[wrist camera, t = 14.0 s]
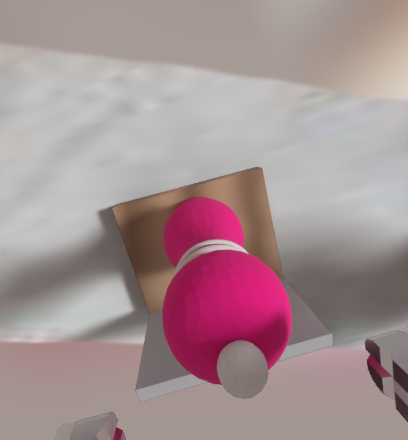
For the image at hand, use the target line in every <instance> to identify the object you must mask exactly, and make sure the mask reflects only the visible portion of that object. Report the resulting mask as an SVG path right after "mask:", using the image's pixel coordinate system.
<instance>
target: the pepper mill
mask: <svg viewBox="0 0 408 440" xmlns="http://www.w3.org/2000/svg"><path fill="white" fill-rule="evenodd" d="M163 238H164V247H165V251H166V254H167V257H168V258H169V260H170V262H171V263H172V264H173V266H174V267H175V268H176V270H175V274H174V277H173V279H172V280H171V282H170V284H169V286H168V288H167V291H166V295H165V298H164V302H163V308H162V318H163V329H164V334H165V338H166V341H167V343H168V345H169V348H170V350H171V352H172V353H173V355H174V357H175V358H176V360H177V361H178V362H179V363H180V364H181V365H182V366H183V367H184V368H185V369H186V370H187V371H188V372H189V373H191V374H192V375H194V376H195V377H197V378H199V379H202V380H204V381H207V382H210V383H213V384H220V385H223V387H224V388H225V389H226V390H227V392H229V393H230V394H232V395H233V396H235V397H239V398H251V397H253V396H255V395H257V394H258V393H259V392H261V390H262V389H263V388H264V385H265V384H266V382H267V377H268V370H269V369H270V368H271V367H272V366H273V365H274V364H275V363H276V362H277V361H278V360H279V359H280V357H281V355H282V354H283V352H284V350H285V349H286V346H287V343H288V340H289V337H290V333H291V329H292V311H291V307H290V302H289V298H288V295H287V293H286V290H285V288H284V286H283V284H282V283H281V281H280V280H279V278H278V277H277V275H276V274H275V273H274V272H273V271H272V270H271V269H270V268H269V267H268V266H267V265H266V264H265V263H264V262H263V261H261V260H260V259H258V258H257V257H255V256H253V255H250V254H248V252H247V251H246V250H245V249H243V247H244V233H243V229H242V225H241V223H240V221H239V219H238V217H237V216H236V214H235V213H234V212H233V210H232V209H231V208H229V207H228V206H227V205H225V204H224V203H222V202H220V201H217V200H214V199H210V198H207V197H194V198H191V199H188V200H186V201H184V202H183V203H181V204H180V205H179V206H178V207H177V208H176V210H175V211H174V212H173V213H172V214H171V215H170V217H169V219H168V220H167V223H166V225H165V229H164V236H163Z"/></svg>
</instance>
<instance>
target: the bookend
mask: <svg viewBox="0 0 408 440" xmlns="http://www.w3.org/2000/svg"><path fill="white" fill-rule="evenodd" d="M194 197H207V198H210V199H214V200H217V201H220V202H222V203H224V204H225V205H227V206H228V207H229V208H231V209H232V210H233V212H234V213H235V214H236V216H237V217H238V219H239V221H240V223H241V225H242V229H243V233H244V247H243V249H245V250H246V251H247V252H248V254H250V255H253V256H255V257H257V258H258V259H260V260H261V261H263V262H264V263H265V264H266V265H267V266H268V267H269V268H270V269H271V270H272V271H273V272H274V273H275V274H276V275H277V277H278V278H279V280H280V281H281V283H282V284H283V286H284V288H285V290H286V293H287V295H288V298H289V302H290V307H291V311H292V329H291V333H290V337H289V340H288V343H287V346H286V349H285V350H284V352H283V354H282V355H281V357H280V359H279V360H278V361H277V362H279V361H282V360H286V359H289V358H293V357H296V356H300V355H303V354H306V353H310V352H313V351H317V350H320V349H324V348H327V347H331V346H334V344H333V337H332V333H331V332H330V331H329V329H328V328H327V327H326V326H325V325H324V324H323V322H322V321H321V320H320V319H319V318H318V317H317V315H316V314H315V313H314V312H313V311H312V310H311V308H310V307H309V306H308V305H307V304H306V303H305V301H304V300H303V299H302V298H301V297H300V296H299V294H298V293H297V292H296V291H295V290H294V289H293V288H292V286H291V285H290V284H289V283H288V282H287V281H286V279H285V278H284V277H283V275H282V270H281V265H280V260H279V254H278V249H277V244H276V239H275V233H274V228H273V223H272V218H271V212H270V207H269V202H268V197H267V192H266V186H265V181H264V176H263V171H262V168H259V167H255V168H251V169H247V170H244V171H240V172H236V173H232V174H229V175H225V176H221V177H218V178H214V179H210V180H206V181H203V182H199V183H195V184H191V185H188V186H184V187H180V188H176V189H173V190H169V191H165V192H161V193H158V194H154V195H150V196H147V197H143V198H139V199H135V200H132V201H128V202H124V203H120V204H117V205H115V206H114V207H113V208H112V210H113V213H114V215H115V218H116V221H117V224H118V227H119V229H120V232H121V235H122V238H123V240H124V243H125V246H126V249H127V252H128V254H129V257H130V260H131V263H132V265H133V268H134V271H135V274H136V277H137V279H138V282H139V285H140V288H141V291H142V293H143V296H144V299H145V302H146V304H147V307H148V310H149V313H150V314H149V320H148V325H147V331H146V336H145V341H144V347H143V352H142V357H141V363H140V368H139V374H138V380H137V385H136V393H137V395H138V397H139V400H140V402H141V401H145V400H148V399H152V398H155V397H159V396H162V395H165V394H169V393H172V392H176V391H179V390H183V389H186V388H190V387H193V386H196V385H200V384H203V383H207V381H204V380H202V379H199V378H197V377H195V376H194V375H192V374H191V373H189V372H188V371H187V370H186V369H185V368H184V367H183V366H182V365H181V364H180V363H179V362H178V361H177V360H176V358H175V357H174V355H173V353H172V352H171V350H170V348H169V345H168V343H167V341H166V338H165V334H164V329H163V318H162V308H163V302H164V298H165V295H166V291H167V288H168V286H169V284H170V282H171V280H172V279H173V277H174V274H175V270H176V268H175V267H174V266H173V264H172V263H171V262H170V260H169V258H168V257H167V254H166V251H165V247H164V238H163V236H164V229H165V225H166V223H167V220H168V219H169V217H170V215H171V214H172V213H173V212H174V211H175V210H176V208H177V207H178V206H179V205H180V204H181V203H183V202H184V201H186V200H188V199H191V198H194Z"/></svg>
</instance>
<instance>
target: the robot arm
mask: <svg viewBox="0 0 408 440" xmlns="http://www.w3.org/2000/svg"><path fill="white" fill-rule="evenodd" d="M365 348H366V350H367V351H368V352H369V353H370V356H369V358H368V359H367V365H368V370H369V373H370V375H371V377H372V379H373V381H374V382H375V384H376V385H377V387H378V388H379V389H380V391H381V392H382V393H383V394H384V395H386V396H388V397H390V398H392V399H394V400H395V405H396V409H397V410H398V412H399V413H400V414H401V415H402V416H403V418H404V419H405V420H406V421H407V422H408V327H405V328H402V329H398V330H394V331H391V332H388V333H384V334H381V335H378V336H374V337H371V338H367V339H366V341H365ZM117 421H118V419H117V418H116V415H115V414H114V412H109V413H105V414H101V415H97V416H93V417H89V418H85V419H81V420H79V421H74V422H71V423H67V424H63V425H62V426H61V427H60V429H59V430H58V431H57V434H56V436H55V438H54V440H126V438H125V435H124V433H123V430H121V429H119V428H117V427H116V425H117Z"/></svg>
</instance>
